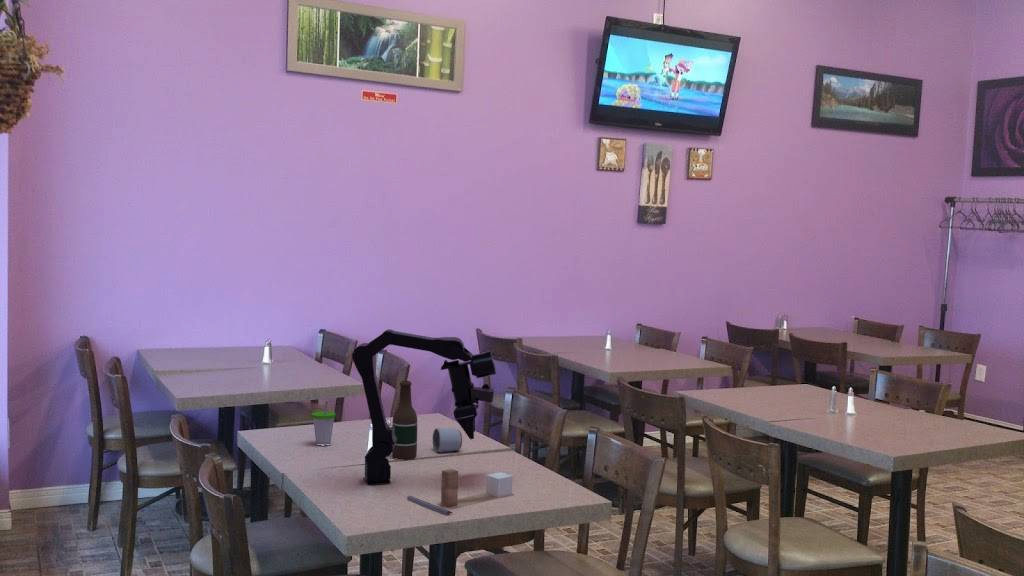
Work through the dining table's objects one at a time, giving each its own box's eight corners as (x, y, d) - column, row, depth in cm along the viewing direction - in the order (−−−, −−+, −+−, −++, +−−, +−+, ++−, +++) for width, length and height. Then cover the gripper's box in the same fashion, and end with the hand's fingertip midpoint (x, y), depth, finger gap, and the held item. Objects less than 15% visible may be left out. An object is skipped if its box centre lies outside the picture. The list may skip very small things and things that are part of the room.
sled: (435, 507, 248) (436, 469, 247) (500, 492, 262) (500, 457, 261) (450, 513, 243) (451, 474, 242) (514, 498, 258) (515, 461, 257)
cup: (316, 441, 318) (316, 396, 317) (338, 442, 317) (339, 397, 316) (307, 446, 310) (308, 401, 309) (331, 448, 309) (331, 402, 308)
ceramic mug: (463, 452, 307) (463, 429, 307) (439, 454, 304) (439, 430, 304) (451, 446, 317) (452, 423, 317) (428, 447, 314) (428, 424, 313)
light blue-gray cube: (486, 493, 258) (486, 475, 258) (500, 490, 261) (500, 472, 261) (498, 497, 254) (498, 479, 254) (512, 494, 258) (512, 476, 257)
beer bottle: (406, 461, 294) (407, 384, 293) (386, 457, 299) (387, 381, 297) (421, 456, 301) (423, 381, 299) (402, 452, 305) (403, 378, 303)
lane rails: (407, 499, 254) (407, 496, 254) (479, 484, 271) (479, 480, 271) (446, 515, 242) (446, 511, 242) (520, 498, 258) (520, 494, 258)
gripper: (488, 381, 260) (500, 436, 261) (489, 370, 278) (500, 422, 280) (448, 389, 260) (460, 445, 261) (452, 378, 279) (463, 430, 280)
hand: (472, 435), depth 270 cm, fingers open, 9 cm apart
